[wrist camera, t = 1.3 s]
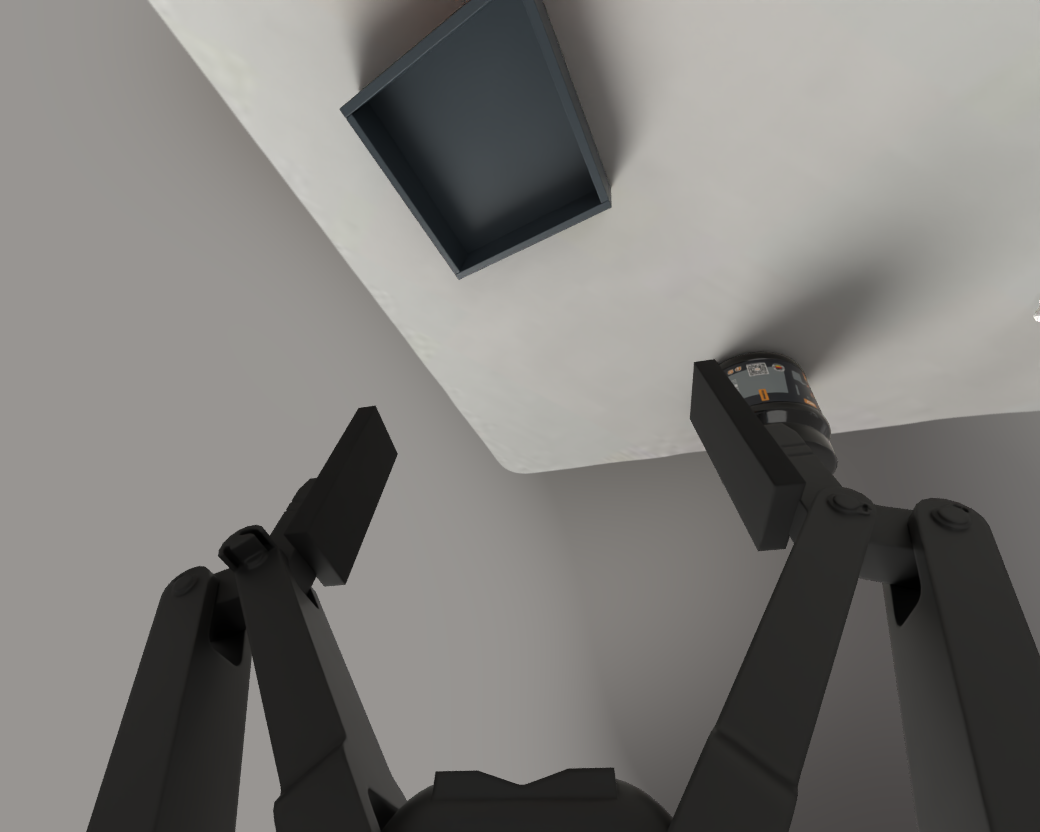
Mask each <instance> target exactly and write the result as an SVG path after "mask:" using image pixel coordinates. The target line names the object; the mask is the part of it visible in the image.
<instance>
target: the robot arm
mask: <svg viewBox="0 0 1040 832" xmlns="http://www.w3.org/2000/svg"><path fill="white" fill-rule="evenodd" d="M690 420H691V422H692V424H693V426H694V428H695V430H696V432H697V433H698V435H699V437H700V439H701V441H702V443H703V445H704V447H705V449H706V451H707V453H708V455H709V457H710V459H711V461H712V462H713V464H714V466H715V468H716V470H717V472H718V474H719V476H720V478H721V480H722V482H723V484H724V486H725V487H726V490H727V492H728V493H729V495H730V497H731V499H732V501H733V503H734V505H735V507H736V509H737V511H738V513H739V515H740V517H741V519H742V521H743V522H744V525H745V526H746V528H747V530H748V532H749V534H750V536H751V538H752V540H753V542H754V544H755V546H756V548H757V550H758V551H765V550H777V549H786V546H787V543H788V540H789V536H790V537H791V539H792V541H793V542H794V545H793V548H792V550H791V552H790V555H789V557H788V559H787V561H786V564H785V566H784V568H783V571H782V573H781V575H780V578H779V580H778V582H777V585H776V587H775V589H774V592H773V594H772V596H771V598H770V601H769V603H768V605H767V608H766V610H765V612H764V615H763V617H762V619H761V621H760V624H759V626H758V628H757V631H756V633H755V635H754V638H753V640H752V642H751V645H750V647H749V649H748V651H747V654H746V656H745V658H744V661H743V663H742V666H741V668H740V670H739V672H738V675H737V677H736V679H735V682H734V684H733V686H732V688H731V691H730V693H729V695H728V698H727V700H726V702H725V705H724V707H723V709H722V712H721V714H720V716H719V718H718V721H717V723H716V725H715V727H714V728H713V730H712V731H711V733H710V735H709V737H708V739H707V741H706V744H705V746H704V748H703V750H702V753H701V755H700V757H699V760H698V762H697V764H696V767H695V769H694V771H693V773H692V776H691V778H690V781H689V782H688V785H687V787H686V789H685V792H684V794H683V796H682V798H681V801H680V803H679V805H678V808H677V810H676V812H675V815H674V817H672V816H670V814H669V813H668V812H667V811H666V810H665V809H664V808H663V807H662V806H661V805H660V804H659V803H658V802H657V801H655V800H654V799H653V798H652V797H651V796H650V795H648V794H647V793H645V792H644V791H642V790H640V789H639V788H637V787H635V786H633V785H631V784H629V783H627V782H624V781H621V780H618V779H615V773H614V768H578V769H566V770H564V771H561V772H558V773H556V774H553V775H550V776H548V777H545V778H542V779H539V780H537V781H534V782H531V783H528V784H525V785H519V784H515V783H512V782H509V781H506V780H504V779H501V778H497V777H495V776H492V775H489V774H486V773H483V772H480V771H443V772H436V773H435V780H434V785H432V786H429V787H428V788H426V789H424V790H422V791H421V792H419V793H418V794H416V795H415V796H414V797H412V798H411V799H409V800H408V801H407V800H406V798H405V796H404V795H403V793H402V791H401V790H400V788H399V787H398V785H397V784H396V782H395V780H394V779H393V777H392V775H391V772H390V771H389V768H388V766H387V763H386V761H385V758H384V756H383V754H382V751H381V749H380V746H379V744H378V741H377V739H376V737H375V734H374V732H373V729H372V727H371V724H370V722H369V720H368V717H367V715H366V713H365V710H364V708H363V705H362V703H361V700H360V698H359V696H358V693H357V691H356V688H355V686H354V683H353V681H352V679H351V676H350V674H349V672H348V669H347V667H346V664H345V662H344V659H343V657H342V654H341V652H340V650H339V647H338V645H337V642H336V640H335V638H334V635H333V633H332V630H331V628H330V625H329V623H328V621H327V618H326V616H325V614H324V611H323V609H322V606H321V604H320V601H319V599H318V596H317V594H316V592H315V591H314V590H313V588H312V587H311V586H312V584H313V582H314V580H315V578H316V577H317V578H318V579H319V580H320V582H321V583H322V584H323V586H335V585H345V584H346V582H347V579H348V577H349V574H350V572H351V569H352V567H353V564H354V562H355V559H356V557H357V554H358V552H359V549H360V547H361V544H362V542H363V539H364V537H365V534H366V532H367V529H368V527H369V524H370V522H371V519H372V517H373V514H374V512H375V509H376V507H377V504H378V502H379V499H380V497H381V494H382V492H383V489H384V487H385V484H386V482H387V479H388V477H389V474H390V472H391V469H392V467H393V464H394V462H395V459H396V457H397V451H396V449H395V447H394V445H393V443H392V441H391V439H390V436H389V434H388V432H387V430H386V427H385V425H384V423H383V421H382V419H381V417H380V414H379V413H378V410H377V408H376V406H370V407H363V408H358V410H357V412H356V414H355V415H354V417H353V419H352V420H351V422H350V424H349V425H348V427H347V428H346V430H345V432H344V434H343V435H342V437H341V439H340V440H339V442H338V444H337V445H336V447H335V449H334V450H333V452H332V454H331V455H330V457H329V459H328V461H327V462H326V464H325V466H324V467H323V469H322V470H321V472H320V474H319V476H318V477H317V478H313V479H309V480H308V481H307V482H306V483H305V484H304V485H303V486H302V487H301V488H300V489H299V490H298V492H297V493H296V495H295V496H294V498H293V500H292V503H290V504H289V506H288V508H287V509H286V510H287V511H286V512H284V514H283V515H282V517H281V519H280V520H279V522H278V523H277V525H276V527H275V528H274V530H273V531H272V533H271V535H270V536H269V535H268V533H267V532H266V531H265V530H264V529H263V527H262V526H258V525H252V526H247V527H245V528H243V529H241V530H239V531H237V532H236V533H234V534H233V535H231V536H230V537H229V538H228V539H227V540H226V541H225V542H224V543H223V544H222V546H221V548H220V549H219V554H218V556H219V558H221V560H222V561H224V563H225V564H226V565H227V566H228V567H229V569H226V570H223V571H221V572H218V573H215V574H213V573H211V572H210V570H208V569H207V568H206V567H204V566H203V567H202V566H198V567H194V568H191V569H189V570H187V571H185V572H183V573H182V574H180V575H179V576H177V577H176V578H175V579H174V580H172V581H171V583H170V584H169V585H168V586H167V587H166V588H165V590H164V592H163V594H162V596H161V599H160V602H159V605H158V608H157V611H156V614H155V618H154V621H153V624H152V627H151V630H150V634H149V637H148V640H147V643H146V646H145V649H144V652H143V655H142V658H141V662H140V665H139V668H138V671H137V674H136V677H135V681H134V684H133V687H132V690H131V693H130V696H129V699H128V703H127V706H126V709H125V712H124V715H123V718H122V721H121V725H120V728H119V731H118V734H117V737H116V740H115V744H114V747H113V750H112V753H111V756H110V759H109V762H108V766H107V769H106V772H105V775H104V779H103V782H102V784H101V787H100V791H99V794H98V797H97V800H96V803H95V807H94V810H93V813H92V816H91V819H90V822H89V825H88V829H87V832H235V827H236V816H237V805H238V795H239V785H240V774H241V763H242V753H243V742H244V732H245V721H246V711H247V700H248V690H249V679H250V668H251V657H253V662H254V666H255V671H256V675H257V680H258V685H259V689H260V694H261V698H262V703H263V707H264V712H265V717H266V721H267V726H268V730H269V735H270V740H271V744H272V749H273V753H274V758H275V763H276V767H277V772H278V776H279V781H280V786H281V795H280V797H279V798H278V799H277V800H276V801H275V803H274V810H273V812H274V822H275V826H276V832H788V831H789V828H790V824H791V821H792V817H793V814H794V810H795V805H796V801H797V796H798V782H799V779H800V775H801V771H802V768H803V765H804V761H805V758H806V754H807V751H808V748H809V744H810V740H811V737H812V734H813V731H814V727H815V724H816V720H817V717H818V714H819V710H820V707H821V704H822V700H823V697H824V693H825V690H826V686H827V683H828V679H829V676H830V673H831V670H832V666H833V662H834V659H835V656H836V653H837V649H838V646H839V642H840V639H841V635H842V632H843V629H844V625H845V622H846V619H847V615H848V611H849V608H850V605H851V601H852V598H853V595H854V591H855V588H856V585H857V581H858V578H861V579H866V580H871V581H876V582H882V585H883V591H884V598H885V606H886V613H887V620H888V626H889V633H890V640H891V648H892V655H893V662H894V669H895V676H896V683H897V690H898V697H899V704H900V711H901V718H902V725H903V731H904V739H905V746H906V753H907V760H908V767H909V774H910V781H911V788H912V795H913V802H914V809H915V816H916V823H917V830H918V832H1040V656H1039V653H1038V650H1037V648H1036V645H1035V642H1034V640H1033V637H1032V635H1031V632H1030V630H1029V627H1028V624H1027V622H1026V619H1025V617H1024V614H1023V611H1022V609H1021V606H1020V604H1019V601H1018V599H1017V596H1016V594H1015V591H1014V588H1013V586H1012V583H1011V581H1010V578H1009V575H1008V573H1007V570H1006V568H1005V565H1004V563H1003V560H1002V557H1001V555H1000V552H999V550H998V547H997V544H996V542H995V539H994V537H993V534H992V532H991V529H990V526H989V525H988V523H987V522H986V521H985V519H984V518H983V517H982V516H981V515H979V514H978V513H977V512H976V511H974V510H973V509H971V508H969V507H967V506H965V505H963V504H960V503H958V502H954V501H951V500H947V499H939V498H929V499H924V500H921V501H920V502H919V503H918V504H916V506H915V508H914V510H908V509H900V508H893V507H885V506H879V505H875V504H873V503H872V501H871V500H869V499H868V498H867V497H866V496H864V495H863V494H861V493H859V492H857V491H855V490H852V489H849V488H844V487H842V486H841V485H840V483H839V482H838V481H837V480H836V479H835V478H834V476H833V475H832V474H831V473H830V471H829V470H828V469H827V468H826V467H825V465H824V464H823V463H822V462H821V461H820V459H819V458H818V457H817V456H816V455H815V454H813V451H812V450H811V449H810V447H809V446H808V445H806V443H805V441H804V440H803V439H802V438H801V437H800V435H799V434H798V433H797V432H796V431H794V430H793V429H791V428H789V427H788V426H786V425H784V424H783V423H777V424H768V425H763V423H762V422H761V421H760V419H759V418H758V417H757V415H756V414H755V413H754V411H753V410H752V409H751V407H750V406H749V405H748V403H747V402H746V401H745V399H744V398H743V397H742V395H741V394H740V393H739V391H738V390H737V388H736V387H735V386H734V384H733V383H732V382H731V380H730V379H729V378H728V376H727V375H726V374H725V372H724V371H723V370H722V368H721V367H720V366H719V364H718V363H717V362H716V360H715V359H713V360H706V361H699V362H694V372H693V385H692V398H691V411H690ZM616 785H617V786H616Z"/></svg>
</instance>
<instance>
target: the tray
mask: <svg viewBox="0 0 1040 832" xmlns="http://www.w3.org/2000/svg"><path fill="white" fill-rule="evenodd" d="M340 111H341V112H342V114H343V115H344V116H345V118H346V119H347V121H348V122H349V123H350V125H351V126H352V128H353V129H354V131H355V132H356V133H357V135H358V136H359V138H360V139H361V141H362V142H363V144H364V145H365V146H366V148H367V149H368V151H369V152H370V154H371V155H372V156H373V158H374V159H375V161H376V162H377V164H378V165H379V166H380V168H381V169H382V171H383V172H384V174H385V175H386V176H387V178H388V179H389V181H390V182H391V184H392V185H393V186H394V188H395V189H396V191H397V192H398V194H399V195H400V196H401V198H402V199H403V201H404V202H405V204H406V205H407V206H408V208H409V209H410V211H411V212H412V214H413V215H414V216H415V218H416V219H417V221H418V222H419V224H420V225H421V226H422V228H423V229H424V231H425V232H426V234H427V235H428V236H429V238H430V239H431V241H432V242H433V244H434V245H435V246H436V248H437V249H438V251H439V252H440V254H441V255H442V256H443V258H444V259H445V261H446V262H447V264H448V265H449V266H450V268H451V269H452V271H453V272H454V274H455V275H456V277H457V278H458V279H459V280H460V279H462V278H464V277H466V276H468V275H470V274H472V273H474V272H476V271H479V270H481V269H483V268H485V267H487V266H489V265H491V264H493V263H495V262H497V261H500V260H502V259H504V258H506V257H508V256H510V255H512V254H514V253H516V252H518V251H521V250H523V249H525V248H527V247H529V246H531V245H533V244H535V243H537V242H540V241H542V240H544V239H546V238H548V237H550V236H552V235H554V234H556V233H558V232H561V231H563V230H565V229H567V228H569V227H571V226H573V225H575V224H577V223H579V222H582V221H584V220H586V219H588V218H590V217H592V216H594V215H596V214H598V213H601V212H603V211H605V210H607V209H609V208H611V207H612V205H611V187H610V184H609V181H608V179H607V176H606V173H605V170H604V168H603V165H602V162H601V159H600V157H599V154H598V151H597V148H596V146H595V143H594V140H593V137H592V135H591V132H590V129H589V126H588V124H587V121H586V118H585V115H584V113H583V110H582V107H581V104H580V102H579V99H578V96H577V93H576V91H575V88H574V85H573V82H572V80H571V77H570V74H569V71H568V69H567V66H566V63H565V61H564V58H563V55H562V52H561V50H560V47H559V44H558V41H557V39H556V36H555V33H554V30H553V28H552V25H551V22H550V19H549V17H548V14H547V11H546V8H545V6H544V3H543V0H469V1H468V2H467V3H466V4H464V5H463V6H462V7H461V8H460V9H458V10H457V11H456V12H455V13H454V14H452V15H451V16H450V17H449V18H448V19H446V20H445V21H444V22H443V23H442V24H440V25H439V26H438V27H437V28H436V29H434V30H433V31H432V32H431V33H430V34H429V35H427V36H426V37H425V38H424V39H423V40H421V41H420V42H419V43H418V44H417V45H415V46H414V47H413V48H412V49H411V50H409V51H408V52H407V53H406V54H405V55H403V56H402V57H401V58H400V59H399V60H397V61H396V62H395V63H394V64H393V65H391V66H390V67H389V68H388V69H387V70H385V71H384V72H383V73H382V74H381V75H379V76H378V77H377V78H376V79H375V80H373V81H372V82H371V83H370V84H369V85H367V86H366V87H365V88H364V89H363V90H361V91H360V92H359V93H358V94H357V95H355V96H354V97H353V98H352V99H351V100H349V101H348V102H347V103H346V104H345V105H343V106H342V107H341V108H340Z"/></svg>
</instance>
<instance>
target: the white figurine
mask: <svg viewBox="0 0 1040 832" xmlns="http://www.w3.org/2000/svg"><path fill="white" fill-rule="evenodd" d="M1039 303H1040V302H1039ZM1033 317H1034V319H1035V320H1036V321H1038V322H1040V307H1039V308H1038V309H1037V311H1036V313H1035V315H1034V316H1033Z"/></svg>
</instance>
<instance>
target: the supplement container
mask: <svg viewBox="0 0 1040 832" xmlns="http://www.w3.org/2000/svg"><path fill="white" fill-rule="evenodd" d="M719 366H720V367H721V368H722V370H723V371H724V372H725V374H726V375H727V376H728V378H729V379H730V380H731V382H732V383H733V384H734V386H735V387H736V388H737V390H738V391H739V393H740V394H741V395H742V397H743V398H744V399H745V401H746V402H747V403H748V405H749V406H750V407H751V409H752V410H753V411H754V413H755V414H756V415H757V417H758V418H759V419H760V421H761V422H762V423H763V425H768V424H777V423H783V424H784V425H786V426H788V427H789V428H791V429H793V430H794V431H796V432H797V433H798V434H799V435H800V437H801V438H802V439H803V440H804V441H805V443H806V445H808V446H809V447H810V449H811V450H812V451H813V454H815V455H816V456H817V457H818V458H819V459H820V461H821V462H822V463H823V464H824V465H825V467H826V468H827V469H828V470H829V471H830V473H831V474H832V475H833V474H834V472H835V470H836V468H837V457H836V455H835V452H834V451H833V448H832V446H831V444H830V442H829V441H830V437H831V429H830V425H829V423H828V421H827V419H826V418H825V417H824V415H823V414H822V412H821V410H820V408H819V406H818V403H817V401H816V399H815V397H814V395H813V393H812V390H811V388H810V386H809V384H808V382H807V379H806V375H805V373H804V371H803V369H802V368H801V367H800V365H799V364H798V363H796V362H795V361H794V360H792V359H791V358H789V357H787V356H785V355H782V354H778V353H772V352H753V353H747V354H742V355H739V356H736V357H733V358H731V359H729V360H726V361H725V362H723V363H721V364H719ZM721 481H722V480H721ZM722 483H723V482H722Z"/></svg>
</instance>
